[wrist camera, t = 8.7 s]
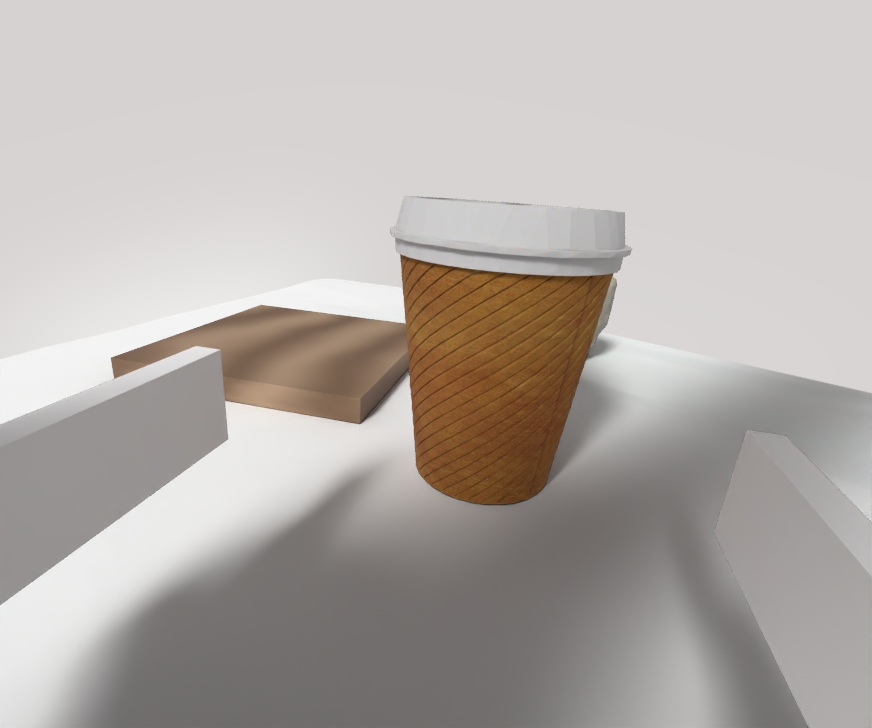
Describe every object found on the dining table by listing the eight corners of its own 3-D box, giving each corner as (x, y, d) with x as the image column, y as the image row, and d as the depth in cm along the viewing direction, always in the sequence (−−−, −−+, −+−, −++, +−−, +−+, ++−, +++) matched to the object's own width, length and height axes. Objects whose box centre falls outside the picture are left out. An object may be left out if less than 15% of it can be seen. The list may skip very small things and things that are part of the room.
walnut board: (430, 343, 41) (431, 327, 40) (359, 423, 26) (360, 398, 26) (262, 320, 44) (261, 305, 44) (114, 380, 29) (110, 357, 29)
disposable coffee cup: (374, 423, 26) (381, 193, 22) (536, 419, 28) (569, 206, 24) (392, 541, 18) (408, 198, 14) (624, 523, 20) (699, 218, 16)
